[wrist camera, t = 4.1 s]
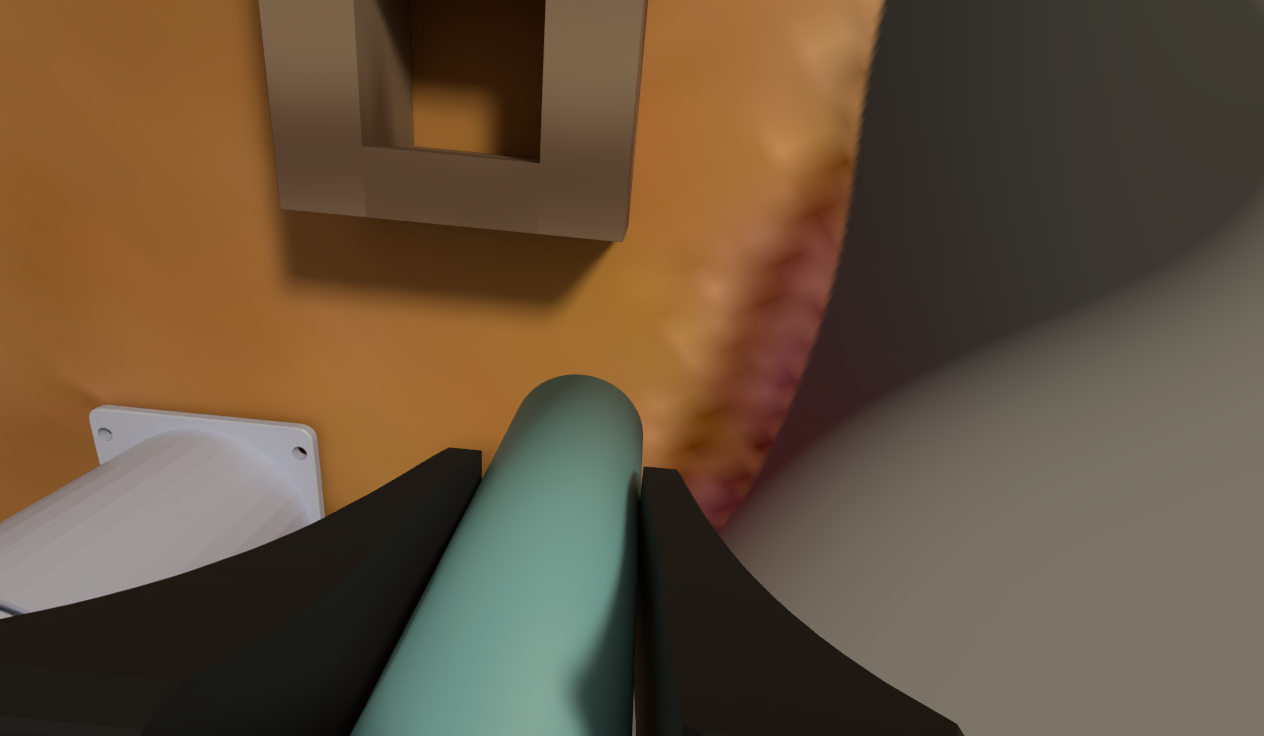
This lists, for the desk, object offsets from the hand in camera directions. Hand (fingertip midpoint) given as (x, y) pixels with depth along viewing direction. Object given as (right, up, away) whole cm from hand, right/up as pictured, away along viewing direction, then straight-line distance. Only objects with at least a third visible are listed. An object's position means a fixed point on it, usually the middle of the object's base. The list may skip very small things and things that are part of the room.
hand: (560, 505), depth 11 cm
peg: (0, +1, +3) cm, 3 cm away
